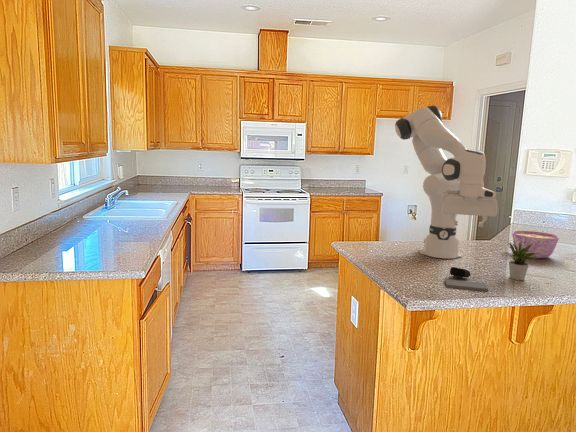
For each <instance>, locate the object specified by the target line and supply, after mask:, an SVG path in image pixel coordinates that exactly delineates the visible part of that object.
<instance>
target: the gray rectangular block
mask: <svg viewBox="0 0 576 432" xmlns="http://www.w3.org/2000/svg"><path fill="white" fill-rule="evenodd" d="M444 283H445V285H446V288H451V289H461V290H462V289H463V290H470V291H472V290H473V291H479V292H480V291H481V292H489V287H488V286H487V284H486V283H485V282H481V281H480V282H479V281H469V280H461V279H460V280H459V279H451V278H444Z"/></svg>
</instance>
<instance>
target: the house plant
mask: <svg viewBox="0 0 576 432" xmlns="http://www.w3.org/2000/svg"><path fill="white" fill-rule="evenodd" d="M522 240H523V239H522ZM522 240H521V242H519V251H518V248H517V246H516V245H515V243H514V242H513V239H510V241H509V242H508V248H509V249H510V250H511V252H512V254H510V253H509V252H503V253H502V254H504V255H506V256H509V257H511V258H512V259H513V260H509V261H508V269H509V278H510V279H513V280H516V281H524V280H525V279H526V274H527V271H528V268H529V263H528V262H526V261H527V260H529V261H531V262H532V260H535V261H537V258H534V257H530V256H531V255H535V254H536V253H527V252H528V251H529V250H528V249H529V248H530V247H531V245H532V244H533V243H531V244H529V245H528V246H527V247H526V248H523V249H521V245H522ZM499 241H502V240H499ZM511 241H512V242H511ZM530 242H531V241H530ZM528 243H529V242H528ZM525 245H526V244H525ZM525 245H524V246H525ZM524 246H523V247H524ZM536 247H537V246H536ZM533 248H534V247H533ZM527 250H528V251H527ZM526 251H527V252H526ZM526 253H527V254H526ZM524 255H525V256H524Z"/></svg>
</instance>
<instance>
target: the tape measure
mask: <svg viewBox="0 0 576 432" xmlns="http://www.w3.org/2000/svg"><path fill="white" fill-rule="evenodd" d="M449 274H450V275H451V276H453V278H461V279H463V278H469V277H471V275H472V274H471V271H470V270H468V269H465V268H460V267H454V266H451V267H450V269H449Z"/></svg>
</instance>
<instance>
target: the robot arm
mask: <svg viewBox="0 0 576 432" xmlns="http://www.w3.org/2000/svg"><path fill="white" fill-rule="evenodd" d="M442 122H443V115H442V111H441V110H440V108H439V107H438V106H436V105H428V106H426V107H424V106H423V107H420V108H417V109H415V111H413V112H411V113H408V114H407V115H405V116H404V117H401V118H399V119H397V121H396V122H395V124H394V127H395V128H394V129H395V133H396V135H397V136H398V137H399V138H400V139H401V140H406V141H407V140H409V139H411V138H412V140H411V141H412V145H413V146H412V147H413V149H414V153H415V154H416V156H417V158H418V160H419V162H420V164H421V166H422V168H423V170H424V171H425V172H426V173H428V174H430V175H428V176H426V177H425V179H424V181H423V185H422V188H423V191H424V193H425V194H426V196H428V199H429V201H430V207H431V217H430V218H431V220H430V225H429V227H428V228H429V229H428V232H429V234H428V235H426V237H425V238H424V239H423V248H421V250H420V251H419V254H421V255H425V256H428V257H432V258H437V259H457V258H462V257H463V256H462V254H461V253H460V252H459V241H460V240H459V238H458V237H457V236H456V235H457V226H458V223H459V221H458V220H457V215H462V216H479V217H482V220H481V221H479V222H478V226H477V227H478V228H483V227H484V223H485V222H486V221H487V220H488V217H497V215H498V213H499V212H498V211H499V205H498V199H496V196H497V192H496V191H493V190H490V189H488V188H485V182H484V177H485V176H486V172H487V165H486V163H487V162H486V161H487V159H486V155H485V153H484V152H483V151H481V150H477V149H471V148H470V149H469V148H468V147H467V146H466V145H465V144H464V142H463V141H462V140H461V139H460V138H458V136H456V135H455V134H454V133H453V132H451V130H449V129H448V128H447V127H446V126H445V125H444V124H443V123H442ZM443 150H444V151H445V152H448V153H450V154H452V155H453V156H454V157H451V158H447V157H446V154H444V152H443Z"/></svg>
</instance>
